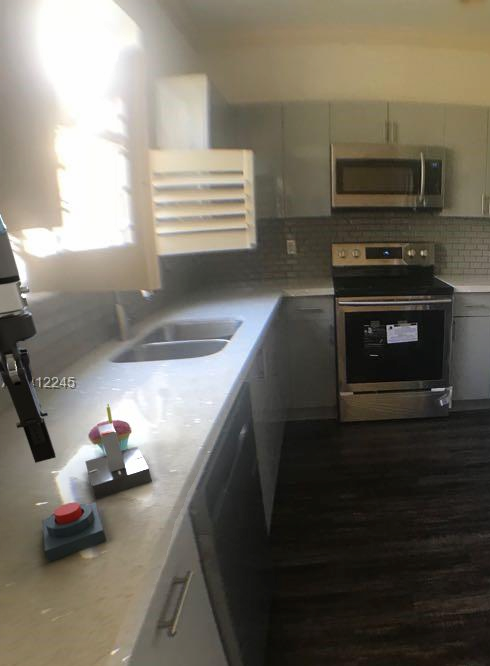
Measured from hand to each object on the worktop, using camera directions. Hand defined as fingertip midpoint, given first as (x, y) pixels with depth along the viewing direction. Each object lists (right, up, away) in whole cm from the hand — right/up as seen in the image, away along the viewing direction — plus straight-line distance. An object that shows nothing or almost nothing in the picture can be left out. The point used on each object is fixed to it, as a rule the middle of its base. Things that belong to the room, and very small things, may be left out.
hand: (45, 458), depth 74 cm
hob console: (0, -7, +21) cm, 22 cm away
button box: (+2, -14, +4) cm, 15 cm away
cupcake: (-8, -4, +32) cm, 34 cm away
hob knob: (0, -5, +20) cm, 21 cm away
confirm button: (+2, -10, +3) cm, 11 cm away
